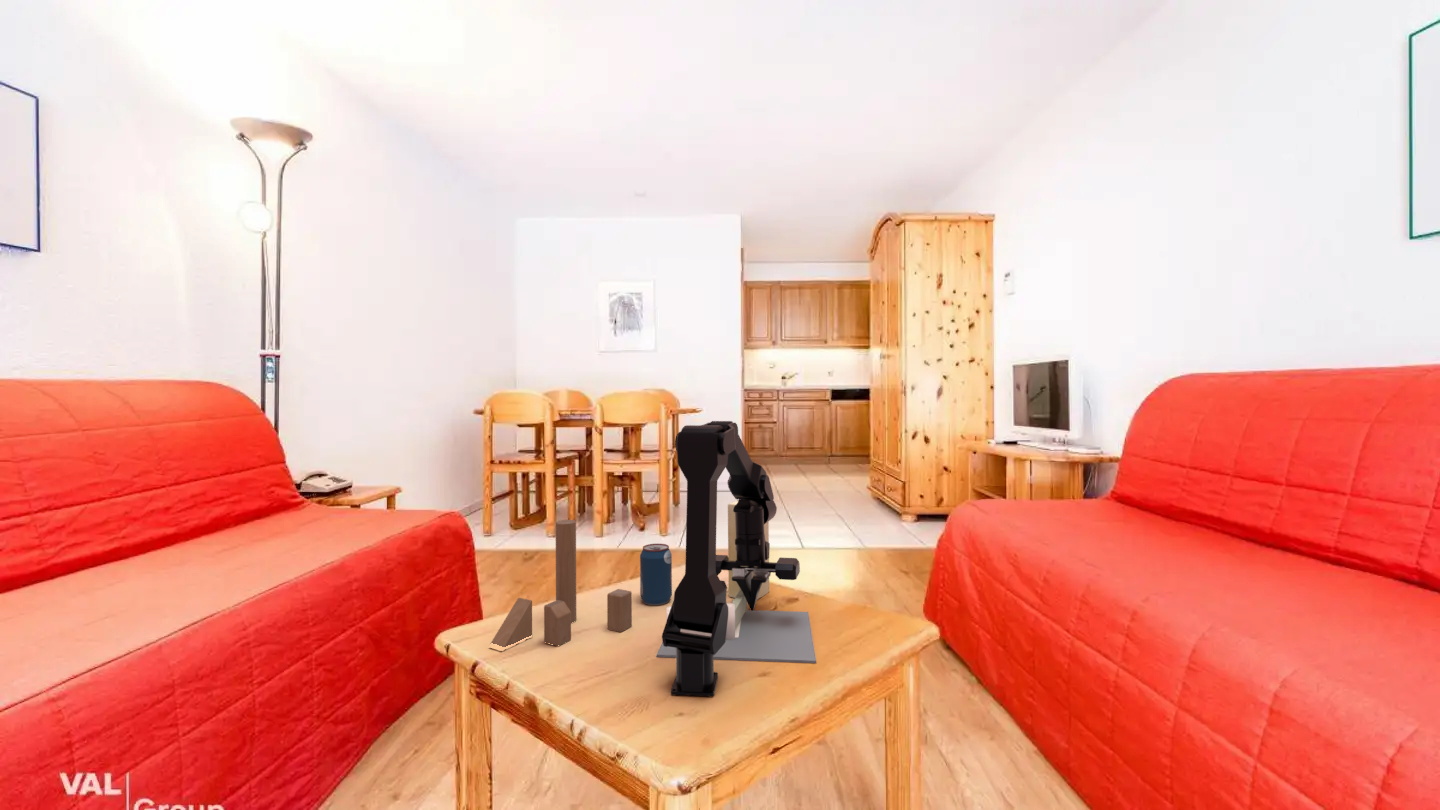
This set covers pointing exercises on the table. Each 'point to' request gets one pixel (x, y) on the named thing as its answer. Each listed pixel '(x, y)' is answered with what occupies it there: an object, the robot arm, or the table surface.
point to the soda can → (655, 574)
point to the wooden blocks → (562, 600)
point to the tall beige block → (732, 553)
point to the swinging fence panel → (739, 607)
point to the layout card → (762, 637)
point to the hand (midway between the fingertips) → (752, 609)
